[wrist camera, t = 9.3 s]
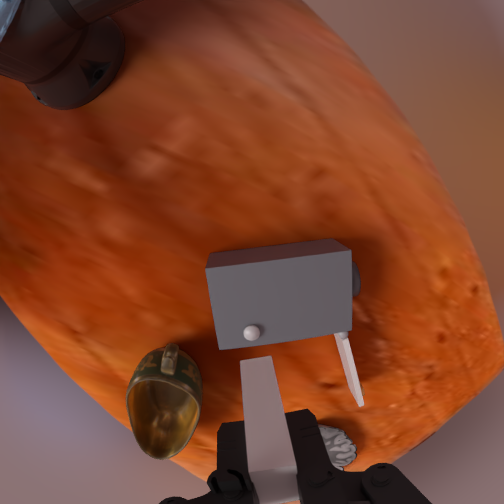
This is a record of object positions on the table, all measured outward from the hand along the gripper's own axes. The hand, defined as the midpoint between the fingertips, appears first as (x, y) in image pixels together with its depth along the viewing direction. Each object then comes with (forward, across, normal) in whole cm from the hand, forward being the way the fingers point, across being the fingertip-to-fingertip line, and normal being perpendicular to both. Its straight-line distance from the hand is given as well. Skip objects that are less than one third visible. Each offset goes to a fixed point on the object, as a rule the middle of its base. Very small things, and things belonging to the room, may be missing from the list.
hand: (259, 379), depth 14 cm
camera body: (+26, +4, -5) cm, 27 cm away
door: (+25, +13, -18) cm, 34 cm away
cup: (+26, -14, -19) cm, 35 cm away
